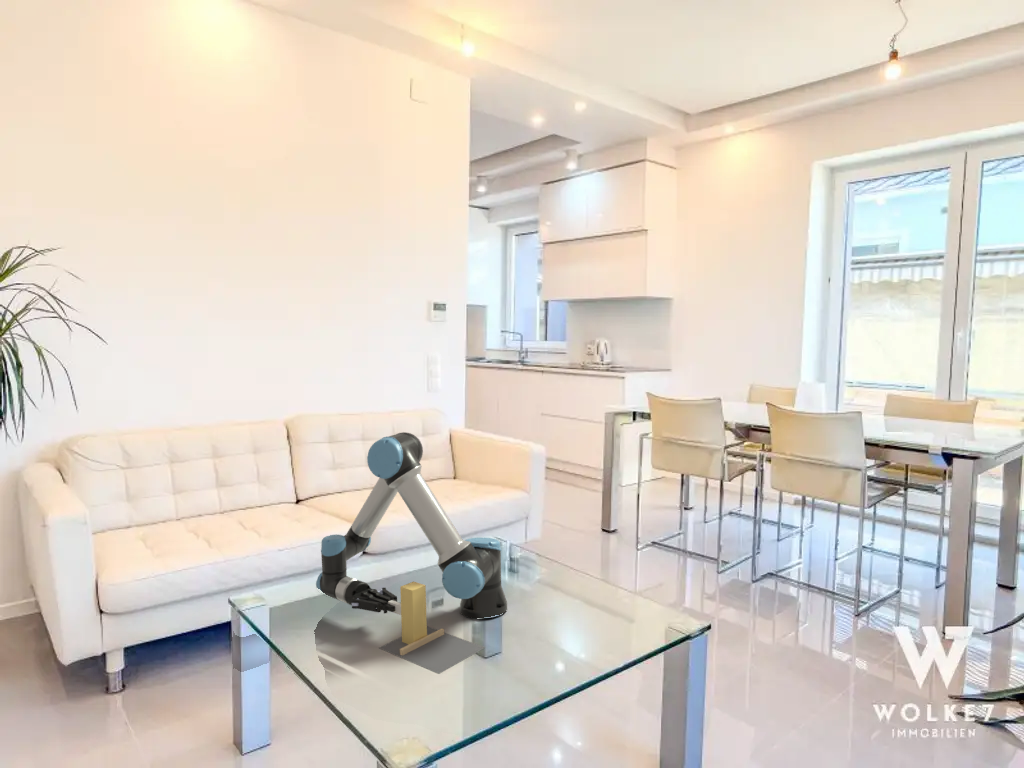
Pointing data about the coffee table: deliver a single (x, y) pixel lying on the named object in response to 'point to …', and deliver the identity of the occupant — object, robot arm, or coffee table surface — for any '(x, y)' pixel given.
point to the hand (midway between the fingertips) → (404, 610)
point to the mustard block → (413, 612)
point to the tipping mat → (434, 650)
